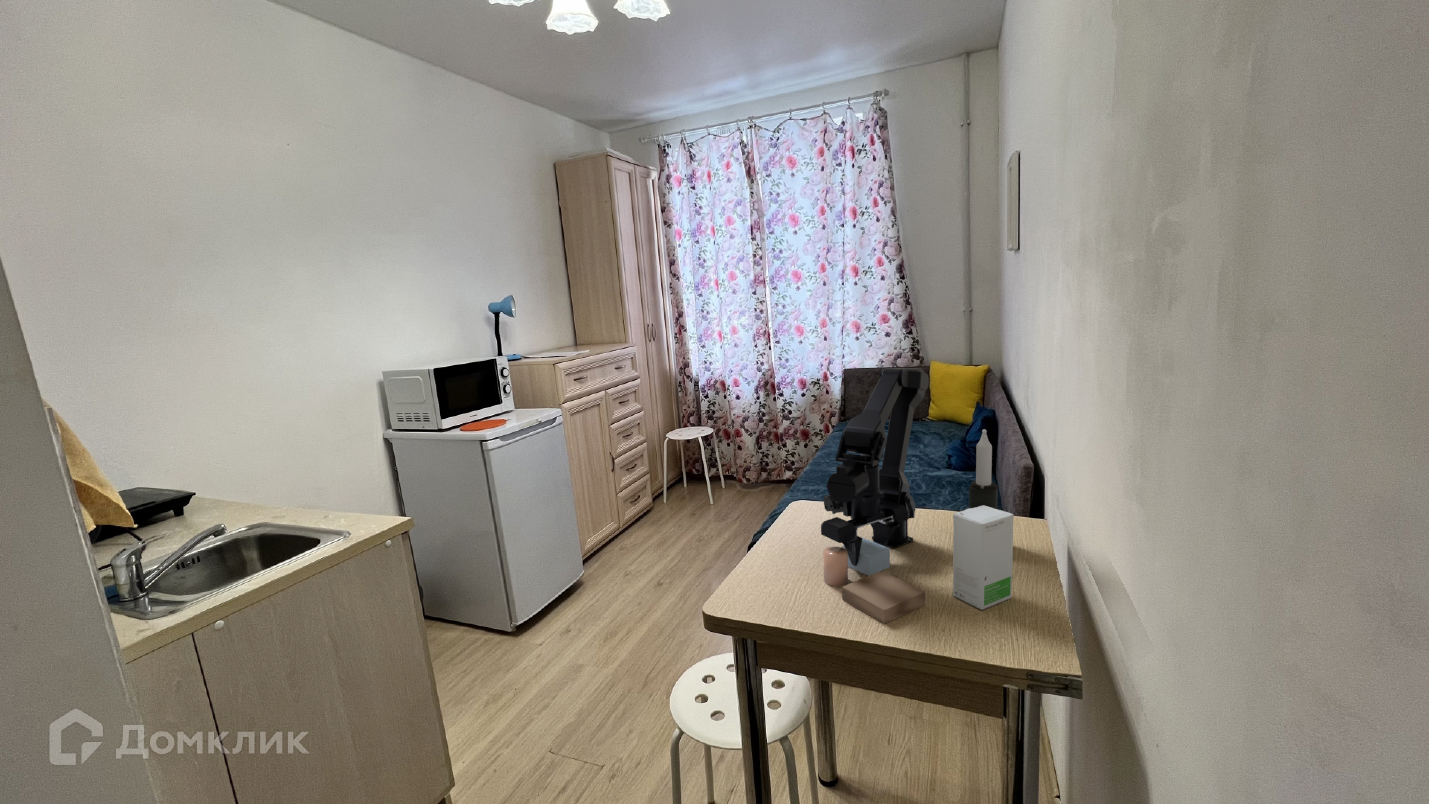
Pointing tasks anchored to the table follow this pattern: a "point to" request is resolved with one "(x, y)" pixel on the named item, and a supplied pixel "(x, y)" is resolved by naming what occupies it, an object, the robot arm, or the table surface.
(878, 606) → the base slab
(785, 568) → the table surface
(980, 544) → the skincare box
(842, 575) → the peach rounded capsule
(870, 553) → the block
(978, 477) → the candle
